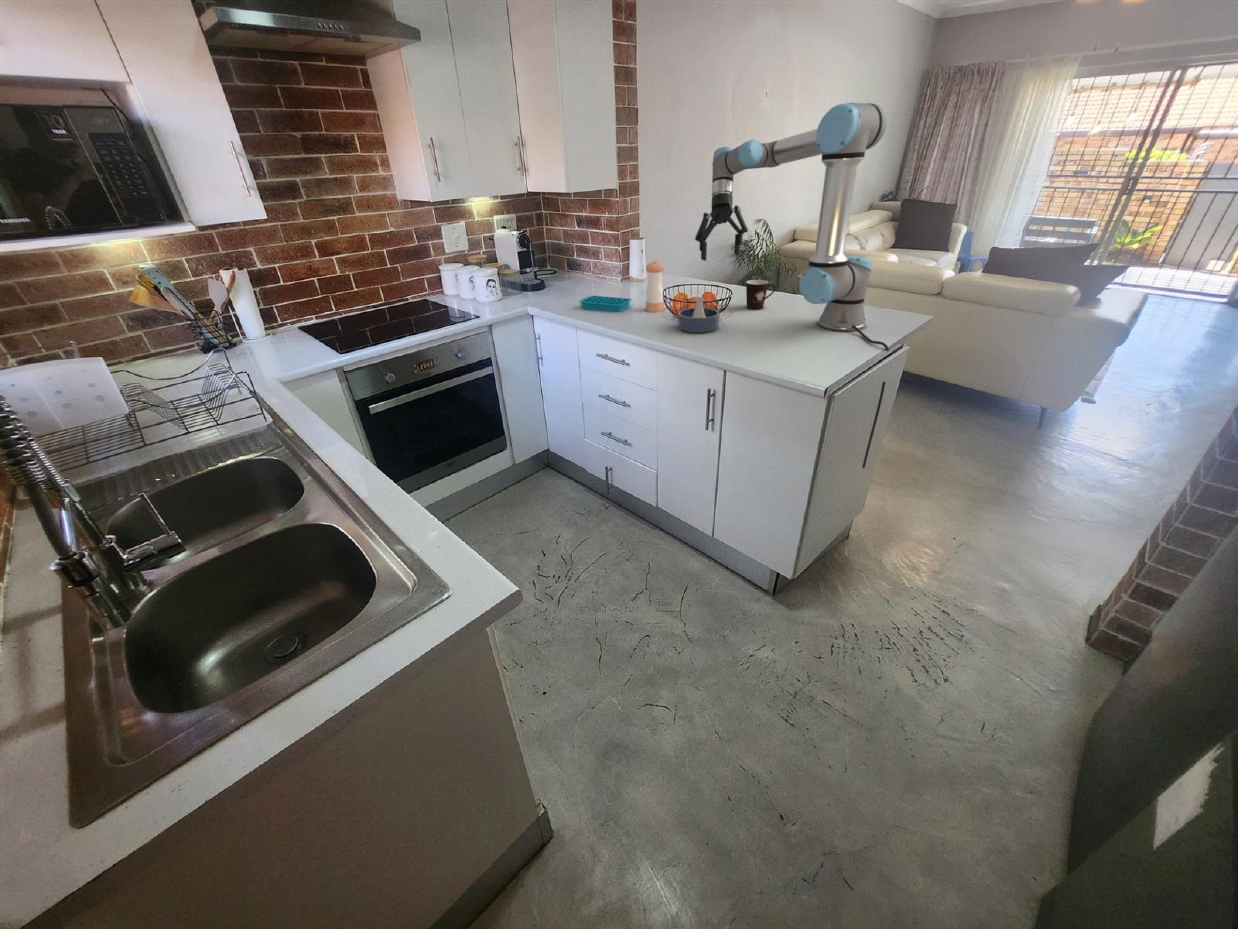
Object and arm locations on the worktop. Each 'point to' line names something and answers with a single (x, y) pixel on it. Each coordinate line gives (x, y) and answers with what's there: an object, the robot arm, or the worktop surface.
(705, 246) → the robot arm
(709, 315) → the bowl
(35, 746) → the worktop surface
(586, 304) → the ice cube tray
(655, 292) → the pepper shaker
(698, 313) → the flask
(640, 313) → the worktop surface
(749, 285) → the coffee mug
